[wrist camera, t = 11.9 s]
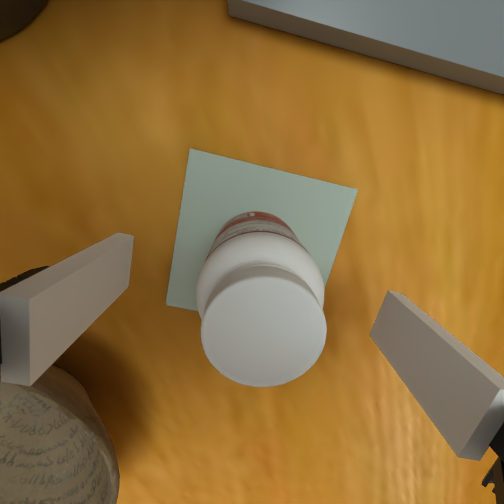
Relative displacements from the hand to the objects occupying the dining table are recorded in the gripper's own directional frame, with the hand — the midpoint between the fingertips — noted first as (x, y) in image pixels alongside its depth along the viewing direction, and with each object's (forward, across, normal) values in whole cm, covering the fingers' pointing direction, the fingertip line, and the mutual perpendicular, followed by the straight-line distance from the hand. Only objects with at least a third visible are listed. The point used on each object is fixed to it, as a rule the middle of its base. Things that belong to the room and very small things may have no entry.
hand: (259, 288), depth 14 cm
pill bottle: (+7, 0, 0) cm, 7 cm away
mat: (+7, 0, 0) cm, 7 cm away
